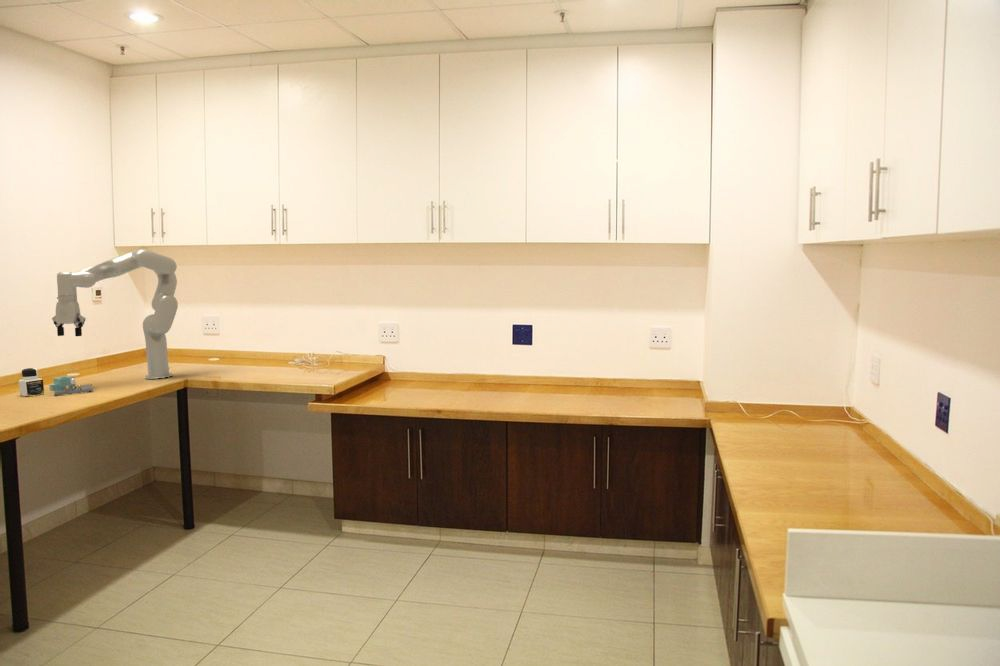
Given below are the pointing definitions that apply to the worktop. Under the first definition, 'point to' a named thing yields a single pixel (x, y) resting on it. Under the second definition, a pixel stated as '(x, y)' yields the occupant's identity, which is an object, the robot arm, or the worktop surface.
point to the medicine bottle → (31, 383)
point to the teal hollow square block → (61, 382)
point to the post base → (73, 388)
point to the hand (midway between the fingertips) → (69, 335)
